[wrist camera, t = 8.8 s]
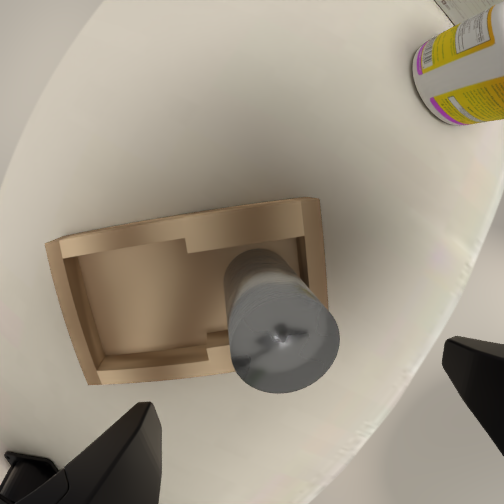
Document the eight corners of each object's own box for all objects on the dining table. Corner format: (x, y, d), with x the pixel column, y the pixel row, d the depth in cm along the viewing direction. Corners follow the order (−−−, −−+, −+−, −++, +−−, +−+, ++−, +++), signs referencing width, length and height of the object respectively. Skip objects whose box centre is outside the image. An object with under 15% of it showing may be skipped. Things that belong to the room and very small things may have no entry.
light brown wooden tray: (99, 365, 20) (88, 384, 17) (63, 236, 18) (44, 243, 15) (318, 335, 21) (330, 353, 18) (306, 196, 19) (319, 198, 16)
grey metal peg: (228, 318, 19) (239, 401, 12) (218, 253, 18) (221, 307, 11) (294, 307, 20) (339, 380, 12) (288, 243, 19) (338, 287, 11)
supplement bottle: (483, 120, 19) (614, 108, 7) (427, 133, 19) (585, 115, 6) (455, 42, 18) (573, -4, 5) (394, 44, 17) (524, -32, 5)
